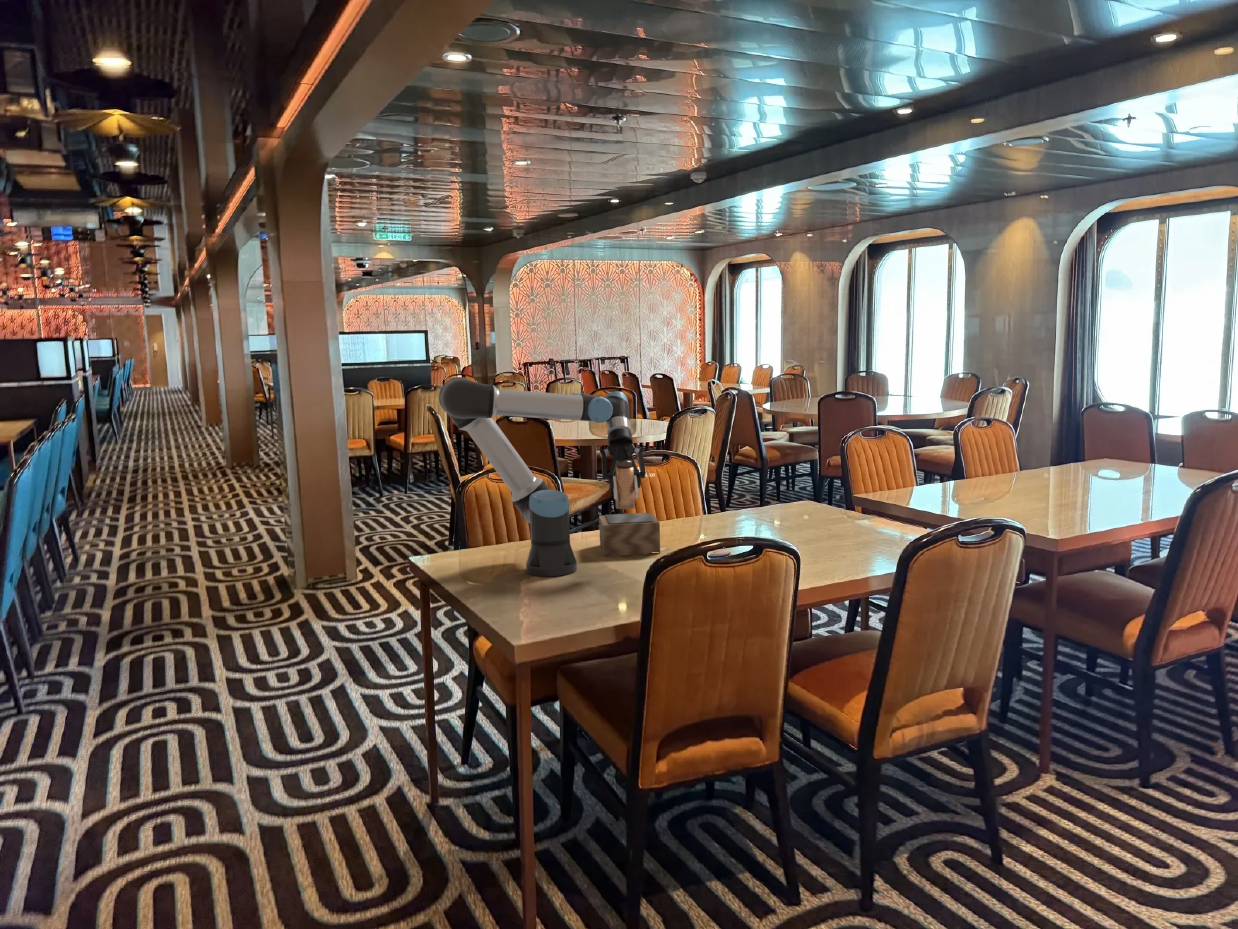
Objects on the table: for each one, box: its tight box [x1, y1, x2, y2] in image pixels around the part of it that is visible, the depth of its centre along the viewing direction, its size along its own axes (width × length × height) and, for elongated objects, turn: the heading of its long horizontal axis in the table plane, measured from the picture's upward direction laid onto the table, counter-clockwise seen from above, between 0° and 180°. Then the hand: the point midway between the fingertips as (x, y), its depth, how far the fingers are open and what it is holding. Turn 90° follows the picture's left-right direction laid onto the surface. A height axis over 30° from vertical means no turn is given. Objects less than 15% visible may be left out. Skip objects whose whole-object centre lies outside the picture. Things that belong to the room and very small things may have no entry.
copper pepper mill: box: [614, 460, 635, 510], centre depth 257 cm, size 6×6×14 cm
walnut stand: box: [598, 512, 661, 557], centre depth 284 cm, size 18×16×10 cm
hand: (626, 496), depth 254 cm, fingers closed on copper pepper mill, 5 cm apart
